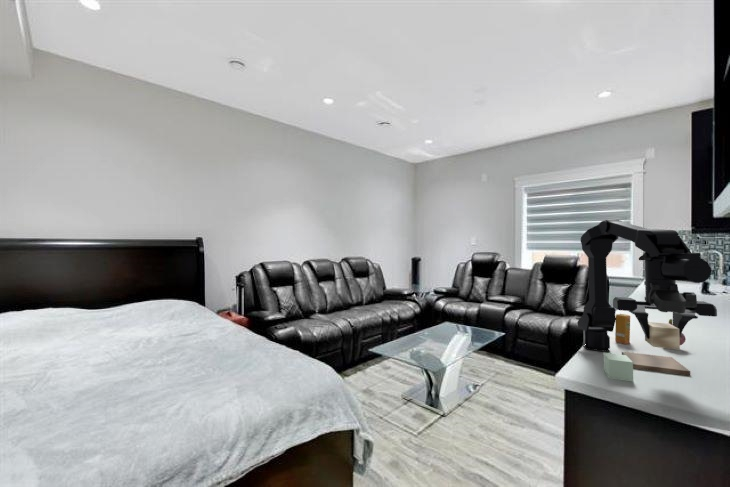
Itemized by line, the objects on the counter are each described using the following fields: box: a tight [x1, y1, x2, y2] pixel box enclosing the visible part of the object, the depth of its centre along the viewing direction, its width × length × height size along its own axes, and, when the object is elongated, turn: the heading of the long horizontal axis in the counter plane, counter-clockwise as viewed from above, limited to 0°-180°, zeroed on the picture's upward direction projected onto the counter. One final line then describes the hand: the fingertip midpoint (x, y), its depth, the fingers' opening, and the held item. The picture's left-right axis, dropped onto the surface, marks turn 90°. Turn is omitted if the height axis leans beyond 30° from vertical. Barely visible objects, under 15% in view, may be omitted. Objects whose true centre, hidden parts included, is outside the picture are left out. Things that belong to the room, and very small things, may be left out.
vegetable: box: [668, 318, 687, 346], centre depth 106 cm, size 6×6×10 cm
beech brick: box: [644, 321, 681, 350], centre depth 80 cm, size 5×6×5 cm
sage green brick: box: [603, 352, 634, 382], centre depth 85 cm, size 5×6×5 cm
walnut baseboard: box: [621, 351, 691, 377], centre depth 92 cm, size 12×12×1 cm
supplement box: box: [614, 313, 631, 345], centre depth 113 cm, size 3×3×10 cm
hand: (661, 339), depth 80 cm, fingers closed on beech brick, 5 cm apart
